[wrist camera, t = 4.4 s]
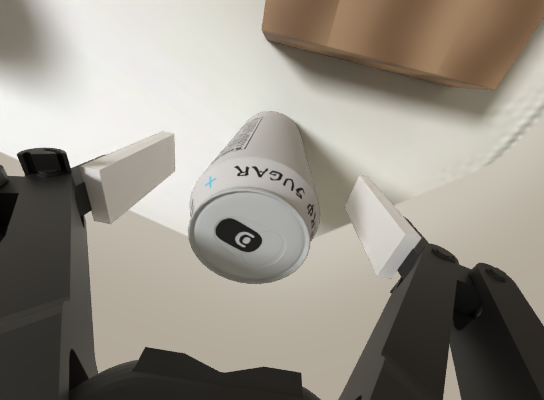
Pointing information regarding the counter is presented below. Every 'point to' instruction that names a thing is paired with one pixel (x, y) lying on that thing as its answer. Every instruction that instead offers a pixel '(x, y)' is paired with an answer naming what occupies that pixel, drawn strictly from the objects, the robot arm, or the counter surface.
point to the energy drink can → (256, 204)
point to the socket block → (411, 35)
